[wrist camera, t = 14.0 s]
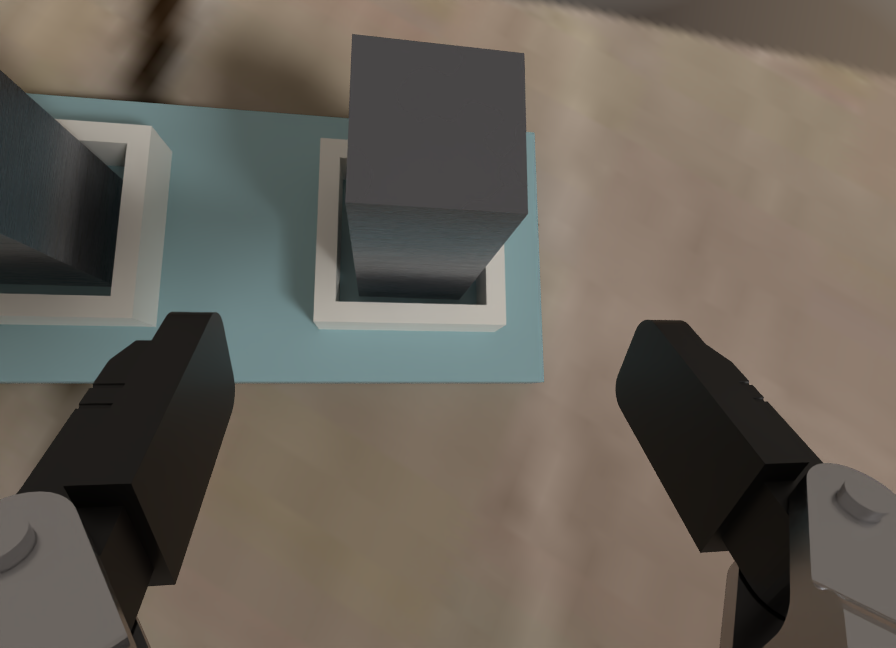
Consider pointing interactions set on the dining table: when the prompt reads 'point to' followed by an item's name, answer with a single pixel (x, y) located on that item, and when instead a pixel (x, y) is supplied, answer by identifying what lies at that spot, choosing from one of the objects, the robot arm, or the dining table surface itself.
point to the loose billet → (432, 164)
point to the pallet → (261, 261)
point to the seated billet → (52, 200)
